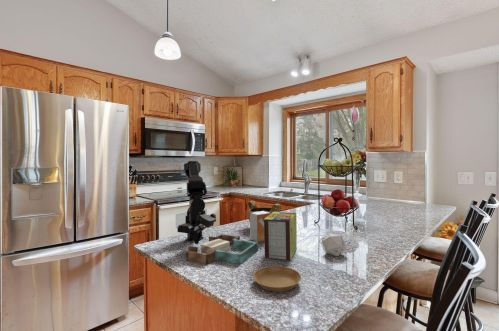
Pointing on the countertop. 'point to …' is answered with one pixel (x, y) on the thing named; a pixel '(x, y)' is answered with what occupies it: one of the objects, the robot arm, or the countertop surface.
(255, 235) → the small box
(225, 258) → the box
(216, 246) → the cream block
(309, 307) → the countertop surface
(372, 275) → the countertop surface
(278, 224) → the protein box
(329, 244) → the white faceted lump
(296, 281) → the plant saucer
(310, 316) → the countertop surface
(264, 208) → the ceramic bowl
